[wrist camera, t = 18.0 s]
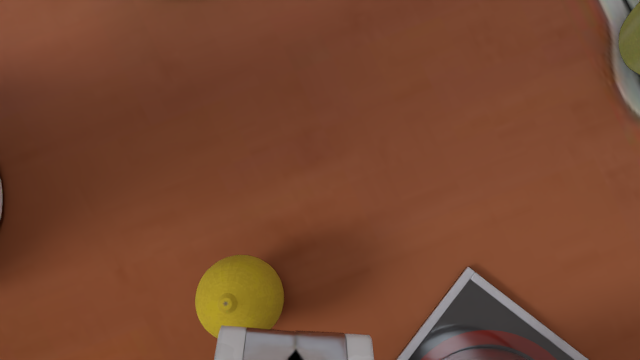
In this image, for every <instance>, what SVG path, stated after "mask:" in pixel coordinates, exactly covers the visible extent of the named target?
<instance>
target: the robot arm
mask: <svg viewBox="0 0 640 360" xmlns="http://www.w3.org/2000/svg"><path fill="white" fill-rule="evenodd" d="M2 204H3V195H2V184H1V179H0V220H1V214H2ZM214 360H374V354H373V345H372V339H371V337H370V335H360V334H344V333H334V332H313V331H296V332H294V331H283V330H272V329H261V328H250V327H236V326H222V325H221V328H220V331H219V334H218V340H217V346H216V352H215V358H214Z"/></svg>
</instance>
